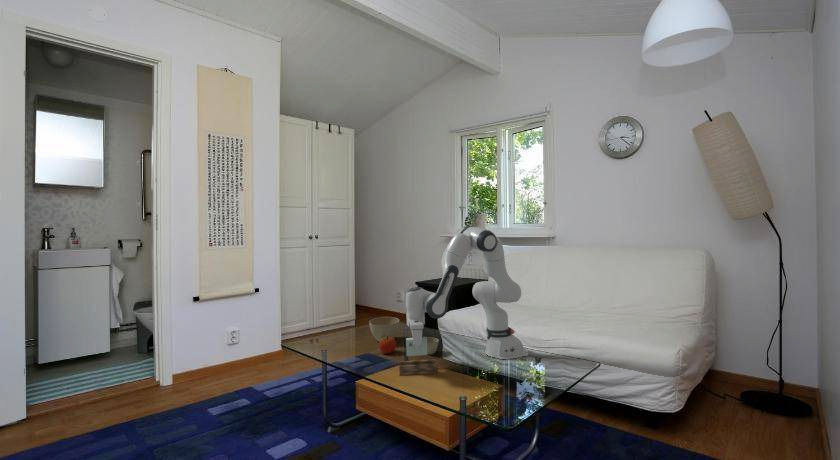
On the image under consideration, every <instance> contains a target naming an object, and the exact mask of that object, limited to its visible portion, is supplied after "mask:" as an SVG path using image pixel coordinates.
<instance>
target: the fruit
mask: <svg viewBox="0 0 840 460" xmlns="http://www.w3.org/2000/svg"><path fill="white" fill-rule="evenodd" d="M382 337H386V338H382ZM382 337H381V338H382V339H381V340H380V342H379V341H378V343H379V344H378V347H379V351H380V352H381V353H383V354H384V355H386V354H387V355H389V354H392V353H394V352H395V350H396V348H397V341H396V339H395V337H394V338H392V337H388V336H385V335H383V336H382Z"/></svg>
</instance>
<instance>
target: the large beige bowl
mask: <svg viewBox="0 0 840 460" xmlns="http://www.w3.org/2000/svg"><path fill="white" fill-rule="evenodd" d="M368 322H369V329H370V332H371V334H372V335H373V337H374V339H375V340H376V341H378V343H379V342H380V340H381V339H382V338H386V337H382V336H383V335H385V336H388V337H392V338H394V339H395V338H396V336H397V333H398V331H399V327H400V319H399V318H397V317H394V316H393V317H392V316H382V317H381V316H380V317H377V318H376V317H375V318H373V319H370V320H369V321H368ZM381 337H382V338H381Z"/></svg>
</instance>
